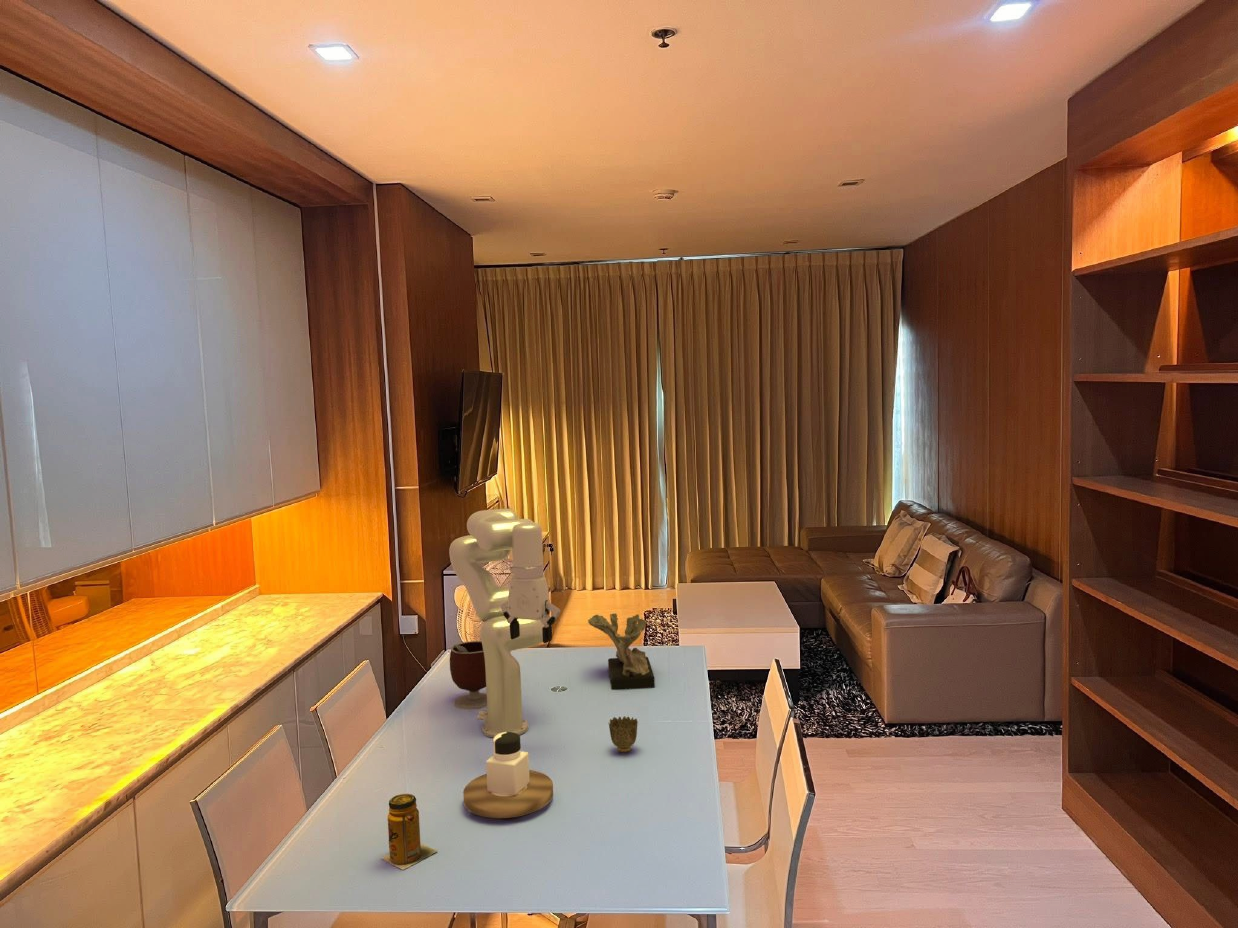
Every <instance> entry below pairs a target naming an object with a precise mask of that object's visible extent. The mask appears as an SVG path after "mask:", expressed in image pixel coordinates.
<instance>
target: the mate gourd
mask: <svg viewBox="0 0 1238 928" xmlns="http://www.w3.org/2000/svg"><path fill="white" fill-rule="evenodd" d="M449 671H450V675H451V680H452V681H453V683H454V684H455V685H456V686H457V687H458V688H459V689H460V690H463V691H469V693H467V694H464V695H461V696H458V697H457V698H455V700H454V702H453V704H454V706H455V707H456V708H458V709H461V710H478V709H484V708H487V693H485V692H482V693H481V692H480V691H481V690H483V689H486V672H485V658H484V651H483V646H482V642H481V640H472V641H464V642H461V643H457V644H454V645H452V646H451V647H450V654H449Z"/></svg>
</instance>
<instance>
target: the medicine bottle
mask: <svg viewBox="0 0 1238 928" xmlns="http://www.w3.org/2000/svg"><path fill="white" fill-rule="evenodd" d="M492 738H493V737H492ZM492 742H493V743H492V745H493V746H492V747H493V755H492V756H491V757H490V758H488V759H487V760H486V761H485V767H486V774H487V790H488V792H494V793H501V794H507V795H514V796H515V795H516V794H517V793H518V792H519V791H521V790H522V789H523V788H524V787H525V786H526V785H527V784H528V783H529V782H530V779H529V770H530V761H529V759H530V758H529V757H530V756H529V755H530V754H529V752H528V751H521V750H522V749H521V745H522V744H521V735H518V734H517V733H513V732H503V733H500V734H498V735H496V736H495V737H494V738H493V739H492Z"/></svg>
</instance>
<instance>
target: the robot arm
mask: <svg viewBox="0 0 1238 928" xmlns="http://www.w3.org/2000/svg"><path fill="white" fill-rule="evenodd" d="M466 529H467V532H468V534H469V535H464V536H461V537H458V538H456V539H454V540H453V541H452V542H451V543H450V546H449V551H448V554H449V560H450V564H451V567H452V569H453V572H454V573H455V575H456V576H457V578H458V579H459V581H460V582H461V583H462V584H463V585H464V587H465V589H466V591H467V593H468V596H469V598H470V601H471V603H472V607H473V609H474V611H475V614H476V615H477V617H478V619H479V620H480V621H482V622H483V623H482V625H481V626H480V630H479V637H480V641H481V642H482V646H483V651H484V658H485V672H486V687H485V689H486V690H485V691H486V694H487V707H486V708H487V709H486V710H485V709H480V710H479V712H478V715H477V720H479V721H484V724H483V726H482V728H481V729H482V733H483V735H484V736H487V737H490V738H494V737H495V736H496V735H498V734H500V733H503V732H513V733H517V734H518V735H519V736H521V735H523V734H524V733H526V732H528V729H529V722H528V721H527V720H525V719H523V702H522V701H523V699H522V697H523V696H522V681H521V679H522V678H521V677H522V675H521V665H520V663H519V661H518V660H517V658H516V657H514V655H512V653H511V652H512V651H517V650H521V649H527V648H532V647H536V646H538V645H540V644H541V643H543V644H547V643H550V642H551V641H552V640H553V625H554V624H555V622H557V621H558V617H559V616H560V613H561V609H560V608H559V607H557V606H556V605H555V604H553V603H552V602H551V599H550V592H549V586H548V583H547V578H546V577H544V558H543V557H544V554H543V530H542V529H543V528H542V526H541V525H540V524H539V523H537V522H534V521H533V520H532V519H529V518H519V517H518V515H517V513H516V512H515V511H514V510H512V509H511V508H498V509H497V508H496V509H483V510H478V511H475V512H474V513H472V514H471V515H470V516H469V518H468V519H467V522H466ZM511 552H512V553H511ZM510 554H511V555H512V566H510V567H509V571H510V573H512V574H513V576H512V577H511V578H510V581H509V585H504V586H500V585H498V583H497V582H496V579H495V577H494V575H493V574H492V573H491V572H490V571H488V570H487V569H486V568H484V567H483V566H481V565H479V564H483V563H484V564H485V563H491V562H493V563H494V562H500V561H504V560H506V559H507V558H508V557H509V556H510ZM550 613H551V616H550Z"/></svg>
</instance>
